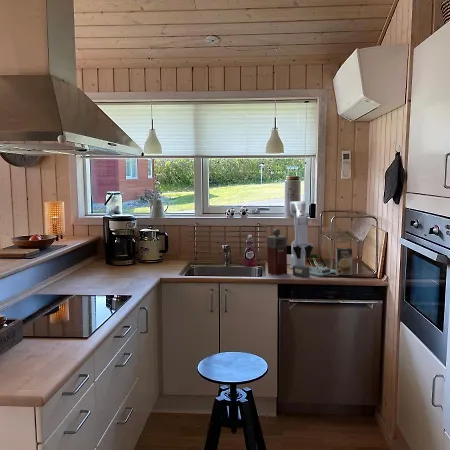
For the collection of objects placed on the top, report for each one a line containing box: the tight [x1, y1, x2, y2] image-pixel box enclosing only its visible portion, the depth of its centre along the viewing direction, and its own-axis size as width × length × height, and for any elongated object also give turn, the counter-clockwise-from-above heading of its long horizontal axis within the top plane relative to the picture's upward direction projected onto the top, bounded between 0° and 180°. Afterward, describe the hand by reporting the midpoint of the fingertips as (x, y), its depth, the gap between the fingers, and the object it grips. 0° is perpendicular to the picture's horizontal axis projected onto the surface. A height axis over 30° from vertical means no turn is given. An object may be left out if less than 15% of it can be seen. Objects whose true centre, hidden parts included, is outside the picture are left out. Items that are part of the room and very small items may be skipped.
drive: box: [292, 265, 310, 279], centre depth 272 cm, size 10×4×6 cm, turn 35°
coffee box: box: [335, 247, 353, 276], centre depth 270 cm, size 9×6×16 cm
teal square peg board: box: [309, 264, 336, 277], centre depth 280 cm, size 18×18×4 cm
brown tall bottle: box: [266, 228, 288, 276], centre depth 279 cm, size 9×11×28 cm
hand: (303, 258), depth 271 cm, fingers open, 7 cm apart
